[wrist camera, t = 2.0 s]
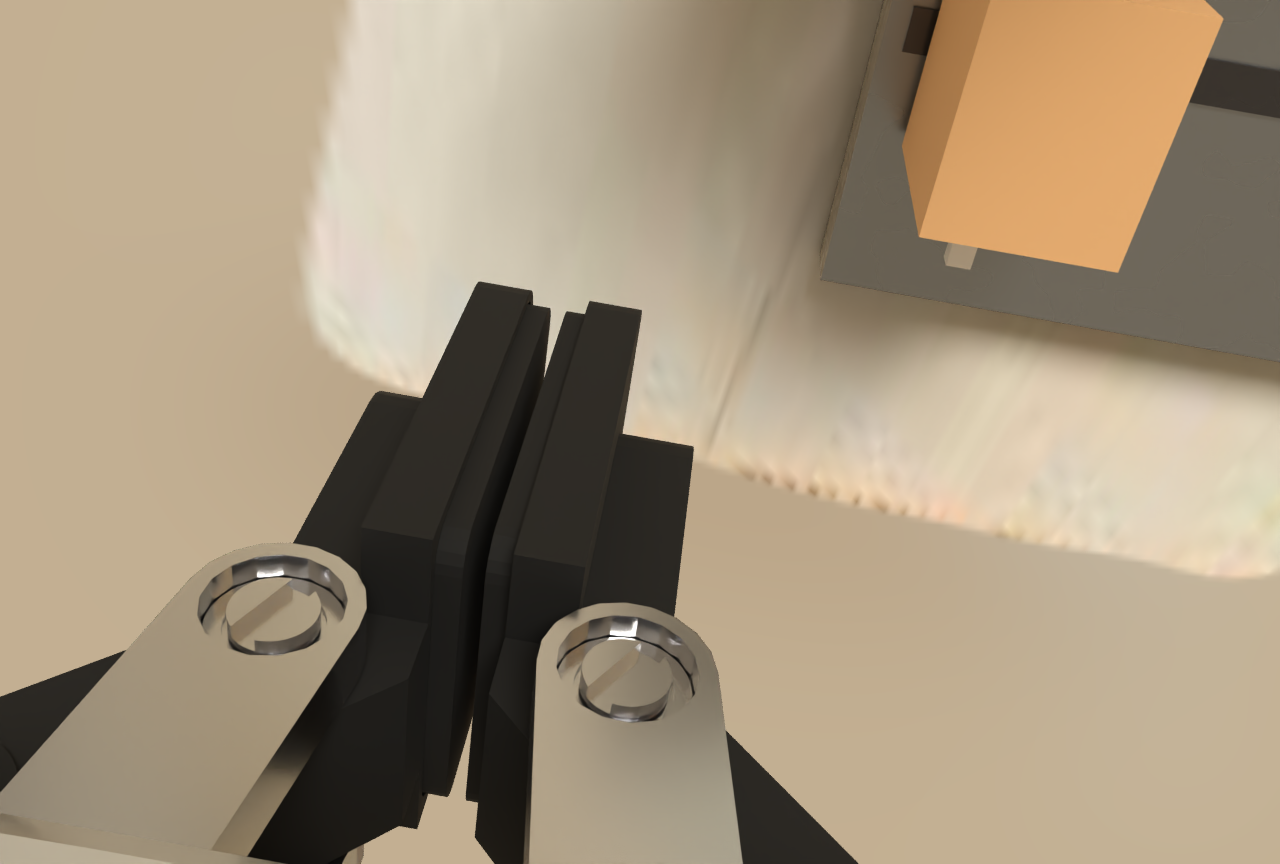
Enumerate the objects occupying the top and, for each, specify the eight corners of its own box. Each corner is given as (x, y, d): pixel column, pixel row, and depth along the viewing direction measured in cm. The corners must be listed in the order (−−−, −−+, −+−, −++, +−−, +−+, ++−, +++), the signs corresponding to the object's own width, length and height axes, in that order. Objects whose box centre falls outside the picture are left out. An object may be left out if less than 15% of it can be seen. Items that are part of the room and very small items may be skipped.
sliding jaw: (1154, -48, 25) (1223, 18, 21) (1036, 271, 29) (1073, 377, 25) (965, -81, 25) (996, -22, 21) (875, 242, 29) (886, 344, 25)
